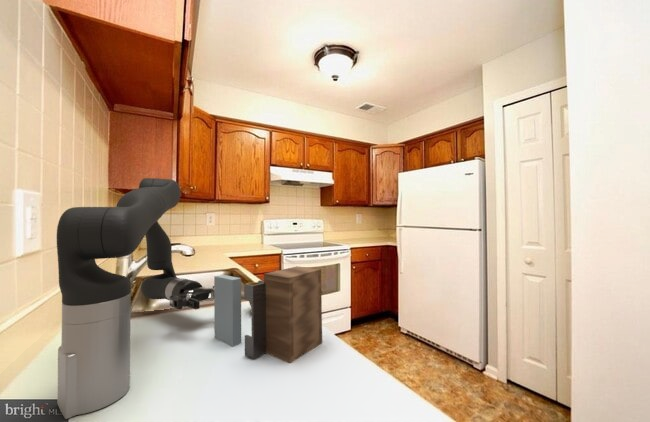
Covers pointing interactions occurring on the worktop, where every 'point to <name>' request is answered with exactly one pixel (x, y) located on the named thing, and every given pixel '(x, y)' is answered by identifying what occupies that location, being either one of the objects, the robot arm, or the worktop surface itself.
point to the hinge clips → (256, 320)
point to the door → (227, 309)
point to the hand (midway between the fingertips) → (213, 300)
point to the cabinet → (293, 312)
